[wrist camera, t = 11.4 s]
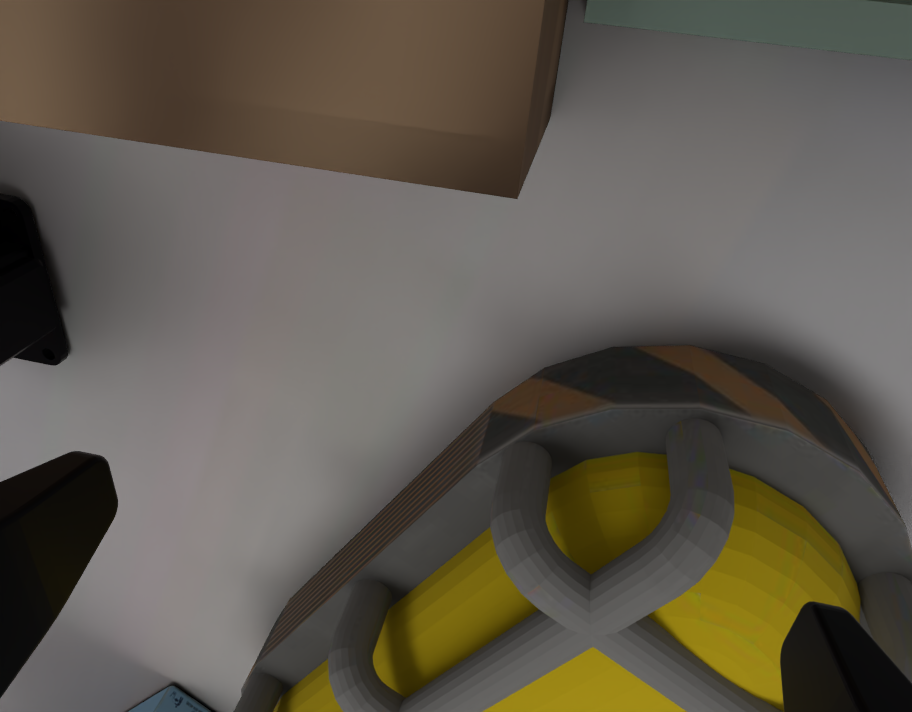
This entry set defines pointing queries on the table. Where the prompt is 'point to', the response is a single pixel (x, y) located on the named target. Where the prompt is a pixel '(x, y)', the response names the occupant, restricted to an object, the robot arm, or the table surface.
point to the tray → (773, 22)
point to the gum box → (170, 702)
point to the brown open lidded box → (297, 80)
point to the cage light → (603, 552)
